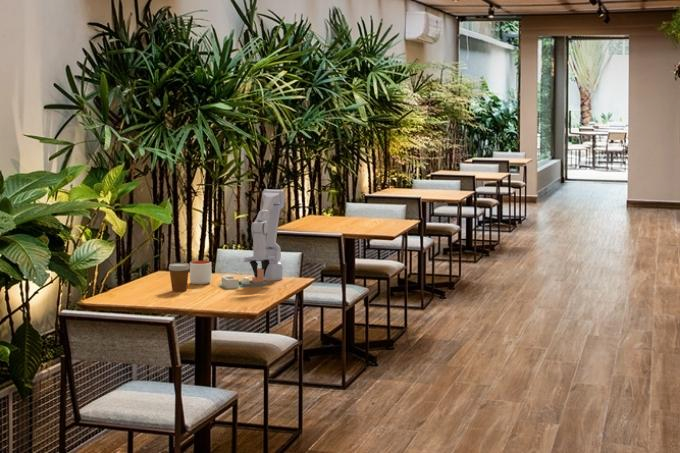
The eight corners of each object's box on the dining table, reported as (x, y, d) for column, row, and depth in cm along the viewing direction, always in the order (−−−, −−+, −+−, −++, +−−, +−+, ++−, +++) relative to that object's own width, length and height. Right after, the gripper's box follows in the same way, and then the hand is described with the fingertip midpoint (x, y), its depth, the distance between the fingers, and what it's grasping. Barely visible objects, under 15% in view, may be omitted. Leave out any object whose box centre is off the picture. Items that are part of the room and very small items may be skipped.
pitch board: (259, 282, 479) (259, 272, 478) (269, 288, 466) (269, 277, 465) (216, 285, 470) (216, 275, 470) (225, 291, 458) (225, 280, 457)
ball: (248, 284, 469) (248, 275, 468) (250, 285, 465) (250, 277, 465) (240, 284, 467) (239, 276, 467) (242, 286, 464) (242, 277, 463)
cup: (213, 281, 481) (213, 260, 480) (208, 285, 471) (208, 264, 470) (192, 281, 482) (192, 260, 481) (187, 284, 472) (187, 263, 471)
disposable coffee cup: (185, 293, 452) (185, 266, 450) (165, 292, 454) (165, 265, 452) (193, 289, 461) (192, 263, 460) (173, 288, 463) (172, 262, 462)
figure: (260, 282, 472) (260, 267, 471) (264, 284, 467) (264, 269, 466) (252, 283, 470) (252, 268, 469) (255, 285, 466) (255, 270, 465)
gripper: (247, 249, 460) (247, 278, 462) (277, 247, 466) (277, 277, 468) (242, 247, 467) (242, 276, 469) (272, 245, 472) (272, 274, 474)
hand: (259, 276), depth 469 cm, fingers closed on figure, 3 cm apart
